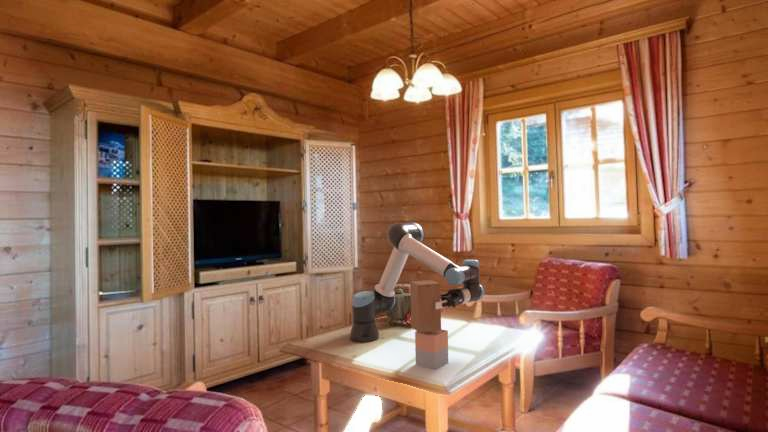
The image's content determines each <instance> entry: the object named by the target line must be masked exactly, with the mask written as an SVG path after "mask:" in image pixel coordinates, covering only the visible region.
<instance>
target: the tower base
mask: <svg viewBox="0 0 768 432" xmlns="http://www.w3.org/2000/svg"><path fill="white" fill-rule="evenodd" d="M447 364H449V346H448V347H447V348H444V349H442V350H440V351H438V352H436V353H433V352H429V351H424V350H420V349H415V365H416V366H420V367H425V368H428V369H433V370H437V369H440V368H441V367H443V366H445V365H447Z"/></svg>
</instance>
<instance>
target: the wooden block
mask: <svg viewBox="0 0 768 432" xmlns="http://www.w3.org/2000/svg"><path fill="white" fill-rule="evenodd" d="M409 284H410V297H411V318H410V320H411V322H410V323H411V326H410V327H411V329H413V330H415V332H419V333H424V332H433V331H441V329H442V314H441V313H442V312H441V308H440V309H435V302H440V294H441V284H440V282H437V281H435V280H432V279H424V280H423V279H422V280H411V281H410V282H409Z"/></svg>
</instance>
